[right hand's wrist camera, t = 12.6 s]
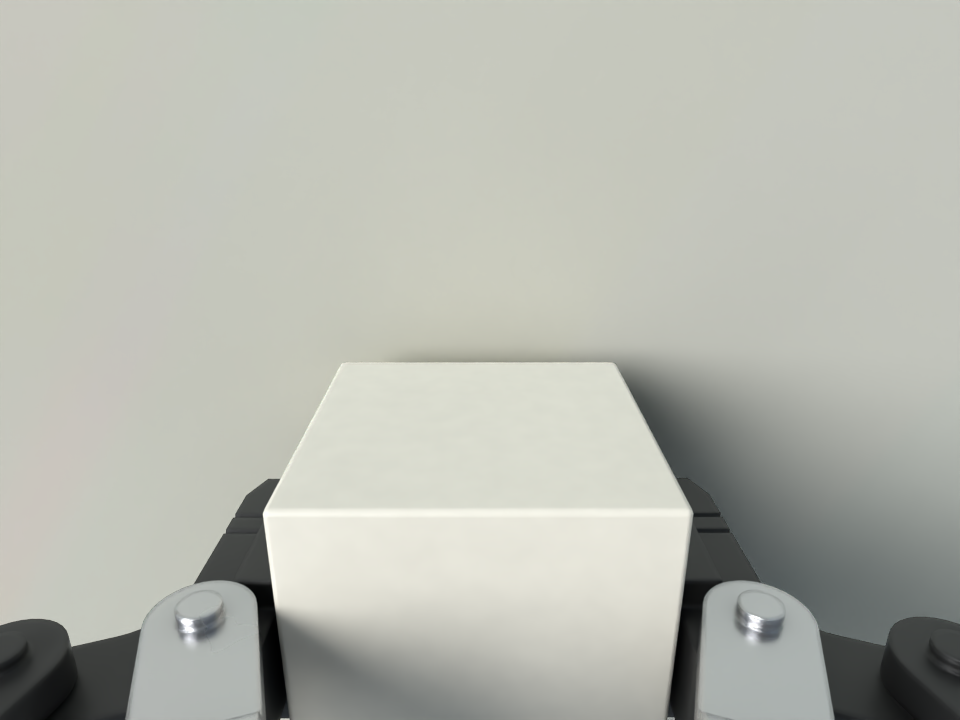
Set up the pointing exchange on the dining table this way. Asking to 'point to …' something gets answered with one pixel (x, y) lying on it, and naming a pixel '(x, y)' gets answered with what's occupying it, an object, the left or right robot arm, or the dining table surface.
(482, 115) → the dining table surface
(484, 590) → the block
